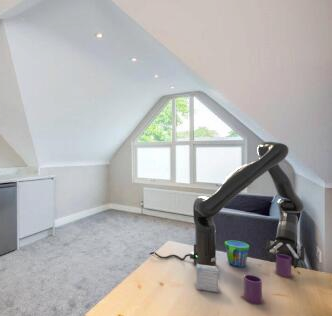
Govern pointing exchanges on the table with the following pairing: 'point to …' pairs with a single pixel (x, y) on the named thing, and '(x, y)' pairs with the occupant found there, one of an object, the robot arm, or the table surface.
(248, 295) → the plum cup
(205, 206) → the robot arm
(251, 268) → the table surface
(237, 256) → the snack cup
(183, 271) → the table surface
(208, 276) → the medicine box
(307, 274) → the table surface
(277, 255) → the plum cup
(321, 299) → the table surface
